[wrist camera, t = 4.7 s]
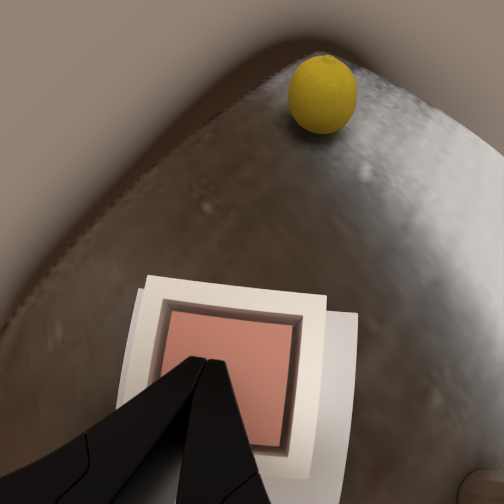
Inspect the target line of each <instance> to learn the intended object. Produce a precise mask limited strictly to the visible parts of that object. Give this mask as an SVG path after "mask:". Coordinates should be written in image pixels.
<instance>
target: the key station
mask: <svg viewBox="0 0 504 504" xmlns="http://www.w3.org/2000/svg"><path fill="white" fill-rule="evenodd" d="M326 300H327V296H325V295H315V294H304V293H294V292H284V291H274V290H265V289H256V288H247V287H238V286H229V285H221V284H213V283H204V282H196V281H189V280H181V279H173V278H166V277H158V276H151V275H148V276H147V280H146V284H145V289H140V288H139V289H138V293H137V298H136V302H135V306H134V311H133V315H132V320H131V325H130V330H129V335H128V340H127V345H126V350H125V355H124V361H123V366H122V372H121V378H120V384H119V391H118V397H117V404H116V409H118V408H119V407H121V406H122V405H123V404H125V403H126V402H128V401H129V400H130V399H132V398H133V397H135V396H136V395H137V394H139V393H140V392H141V391H143V390H144V389H146V388H147V387H148V386H150V385H151V384H152V383H154V382H155V381H156V380H158V379H159V378H160V377H161V371H162V365H163V359H164V353H165V347H166V342H167V336H168V330H169V325H170V320H171V315H172V311H177V312H184V313H191V314H198V315H205V316H212V317H220V318H228V319H236V320H244V321H253V322H262V323H271V324H281V325H291V326H292V336H291V347H290V357H289V367H288V377H287V386H286V395H285V403H284V412H283V420H282V428H281V436H280V444H279V446H267V445H256V444H250V445H251V448H252V451H253V454H254V457H255V460H256V463H257V466H258V469H259V473H260V475H261V478H262V481H263V484H264V486H265V489H266V492H267V494H268V497H269V499H270V502H271V504H339V500H340V494H341V489H342V483H343V477H344V471H345V464H346V457H347V450H348V443H349V435H350V426H351V417H352V407H353V396H354V384H355V370H356V353H357V329H358V313H346V312H334V311H326ZM175 503H176V500H175ZM175 503H174V504H175Z"/></svg>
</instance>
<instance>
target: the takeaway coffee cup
mask: <svg viewBox="0 0 504 504" xmlns="http://www.w3.org/2000/svg"><path fill="white" fill-rule="evenodd" d="M457 500H458V502H459V504H504V471H495V470H475V471H474V472H473V473H471V474H470V475H468V476H467V477H466V478H465V480H464V482H463V483H462V485H461V486H460V488H459V492H458V497H457Z"/></svg>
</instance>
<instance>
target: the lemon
mask: <svg viewBox="0 0 504 504" xmlns="http://www.w3.org/2000/svg"><path fill="white" fill-rule="evenodd" d="M356 98H357V86H356V81H355V78H354V76H353V74H352V72H351V71H350V69H349V68H348V67H347V66H346V65H345V64H344V63H342V62H341V61H339V60H337V59H335V58H334V57H333V56H331V55H325V56H317V57H313V58H310V59H308V60H306V61H305V62H303V63H302V64H301V65H300V66H299V67H298V68H297V70H296V71H295V73H294V75H293V77H292V79H291V82H290V86H289V93H288V103H289V107H290V111H291V114H292V116H293V117H294V119H295V120H296V122H297V123H298V124H299V125H300V126H301V127H303V128H304V129H306V130H308V131H310V132H312V133H317V134H328V133H332V132H335V131H337V130H339V129H341V128H342V127H343V126H344V125H345V124H346V123H347V122H348V121H349V119H350V117H351V116H352V114H353V112H354V109H355V106H356Z"/></svg>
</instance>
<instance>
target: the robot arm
mask: <svg viewBox="0 0 504 504" xmlns="http://www.w3.org/2000/svg"><path fill="white" fill-rule="evenodd" d="M175 500H176V503H175ZM174 503H175V504H271V502H270V499H269V497H268V494H267V492H266V489H265V486H264V484H263V481H262V478H261V475H260V473H259V469H258V466H257V463H256V460H255V457H254V454H253V451H252V448H251V445H250V442H249V439H248V435H247V432H246V429H245V426H244V423H243V419H242V416H241V413H240V409H239V406H238V403H237V399H236V396H235V392H234V389H233V386H232V382H231V379H230V375H229V372H228V368H227V365H226V362H225V361H224V360H218V359H208V360H207V359H206V358H204V357H198V356H189V357H187V358H186V359H185V360H183V361H182V362H181V363H179V364H178V365H177V366H175V367H174V368H173V369H171V370H170V371H169V372H167V373H166V374H165V375H163V376H162V377H161V378H159V379H158V380H156V381H155V382H154V383H152V384H151V385H150V386H148V387H147V388H146V389H144V390H143V391H141V392H140V393H139V394H137V395H136V396H135V397H133V398H132V399H130V400H129V401H128V402H126V403H125V404H123V405H122V406H121V407H119V408H118V409H116V410H115V411H114V412H112V413H111V414H109V415H108V416H106V417H105V418H104V419H102V420H101V421H99V422H98V423H96V424H95V425H94V426H92V427H91V428H89V429H88V430H86V433H82V434H80V435H79V436H77V437H76V438H74V439H73V440H71V441H70V442H68V443H67V444H65V445H63V446H62V447H60V448H59V449H57V450H55V451H54V452H52V453H50V454H48V455H46V456H44V457H43V458H41V459H39V460H37V461H35V462H33V463H31V464H29V465H27V466H24V467H22V468H20V469H18V470H16V471H14V472H11V473H9V474H7V475H5V476H2V477H0V504H174Z"/></svg>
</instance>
